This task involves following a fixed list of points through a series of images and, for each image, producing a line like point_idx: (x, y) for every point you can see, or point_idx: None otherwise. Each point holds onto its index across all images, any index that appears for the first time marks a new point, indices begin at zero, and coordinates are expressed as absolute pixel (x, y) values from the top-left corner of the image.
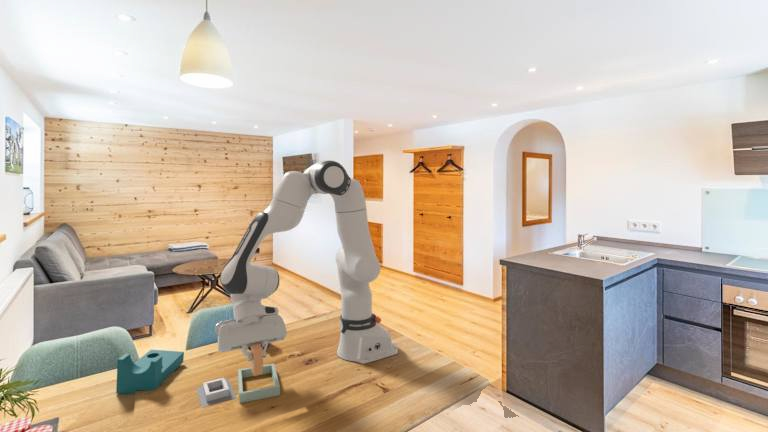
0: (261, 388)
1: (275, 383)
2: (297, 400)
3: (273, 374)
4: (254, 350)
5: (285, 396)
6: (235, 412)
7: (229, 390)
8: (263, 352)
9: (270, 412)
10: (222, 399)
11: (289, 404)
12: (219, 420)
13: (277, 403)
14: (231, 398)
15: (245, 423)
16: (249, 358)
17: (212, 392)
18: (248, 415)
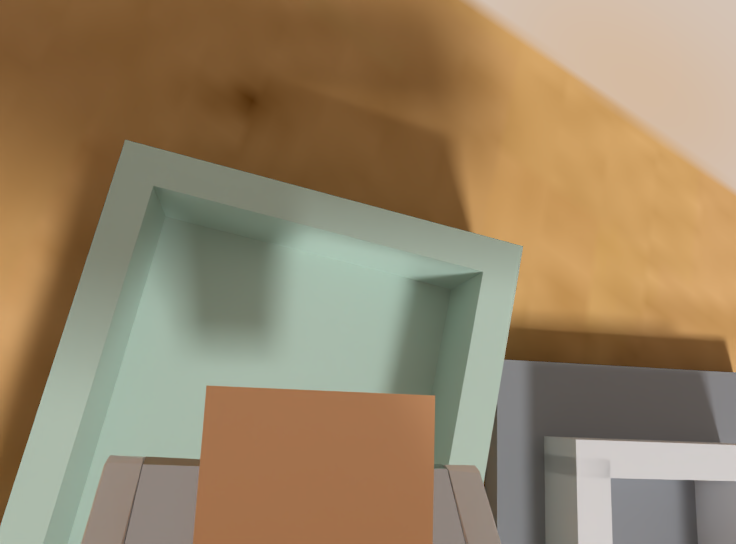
0: (307, 220)
1: (139, 227)
2: (25, 58)
3: (69, 453)
4: (419, 396)
5: (88, 181)
6: (522, 207)
7: (527, 534)
8: (156, 505)
9: (293, 44)
10: (603, 404)
11: (115, 48)
12: (634, 179)
13: (197, 123)
14: (536, 374)
15: (487, 36)
16: (455, 468)
17: (717, 463)
18: (447, 111)
